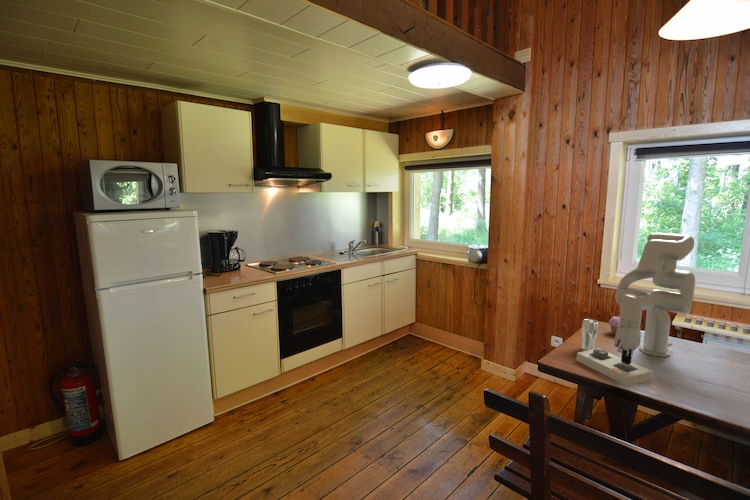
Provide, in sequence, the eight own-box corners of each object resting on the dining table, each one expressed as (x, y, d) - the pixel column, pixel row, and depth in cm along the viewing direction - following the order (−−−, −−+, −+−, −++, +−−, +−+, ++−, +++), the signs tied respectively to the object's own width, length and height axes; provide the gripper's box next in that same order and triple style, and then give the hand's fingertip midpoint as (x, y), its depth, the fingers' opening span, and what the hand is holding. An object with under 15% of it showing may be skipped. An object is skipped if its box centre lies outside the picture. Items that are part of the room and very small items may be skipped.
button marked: (622, 368, 167) (623, 361, 167) (636, 374, 162) (636, 367, 161) (613, 370, 165) (613, 364, 165) (626, 376, 160) (626, 370, 159)
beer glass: (598, 352, 187) (600, 323, 184) (582, 351, 188) (585, 323, 186) (593, 346, 194) (595, 319, 191) (578, 345, 195) (580, 318, 192)
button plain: (599, 354, 178) (599, 348, 178) (610, 359, 173) (611, 353, 172) (589, 356, 176) (590, 350, 176) (601, 361, 171) (601, 355, 170)
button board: (598, 355, 183) (599, 347, 183) (650, 379, 160) (651, 370, 159) (576, 360, 179) (577, 352, 178) (627, 386, 155) (628, 376, 155)
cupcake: (608, 330, 216) (610, 313, 214) (626, 333, 211) (628, 316, 209) (607, 335, 209) (608, 317, 207) (626, 338, 204) (627, 320, 202)
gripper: (633, 317, 166) (629, 356, 169) (608, 322, 161) (605, 362, 164) (651, 323, 159) (646, 363, 162) (625, 328, 154) (621, 370, 157)
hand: (625, 362), depth 163 cm, fingers closed
